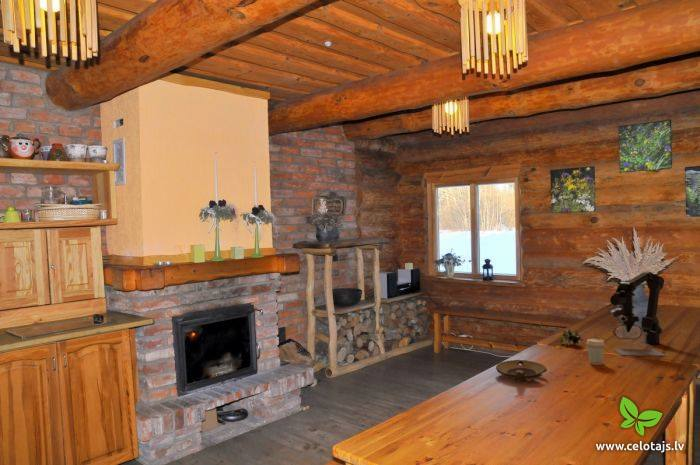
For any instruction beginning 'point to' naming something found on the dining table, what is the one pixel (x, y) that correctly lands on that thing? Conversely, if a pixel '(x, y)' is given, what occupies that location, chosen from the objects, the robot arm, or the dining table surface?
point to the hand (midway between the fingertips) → (627, 331)
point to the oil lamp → (521, 369)
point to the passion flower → (570, 337)
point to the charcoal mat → (638, 352)
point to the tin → (622, 333)
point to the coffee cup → (595, 351)
